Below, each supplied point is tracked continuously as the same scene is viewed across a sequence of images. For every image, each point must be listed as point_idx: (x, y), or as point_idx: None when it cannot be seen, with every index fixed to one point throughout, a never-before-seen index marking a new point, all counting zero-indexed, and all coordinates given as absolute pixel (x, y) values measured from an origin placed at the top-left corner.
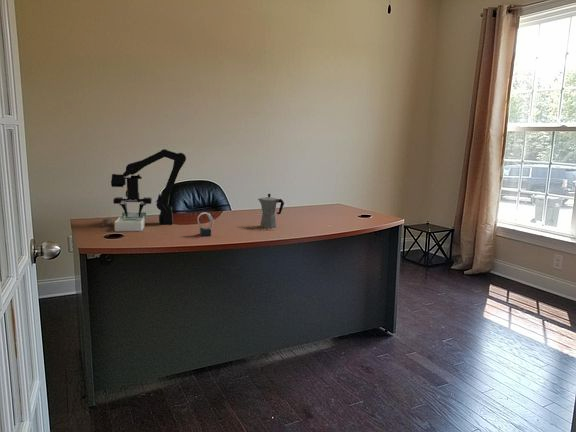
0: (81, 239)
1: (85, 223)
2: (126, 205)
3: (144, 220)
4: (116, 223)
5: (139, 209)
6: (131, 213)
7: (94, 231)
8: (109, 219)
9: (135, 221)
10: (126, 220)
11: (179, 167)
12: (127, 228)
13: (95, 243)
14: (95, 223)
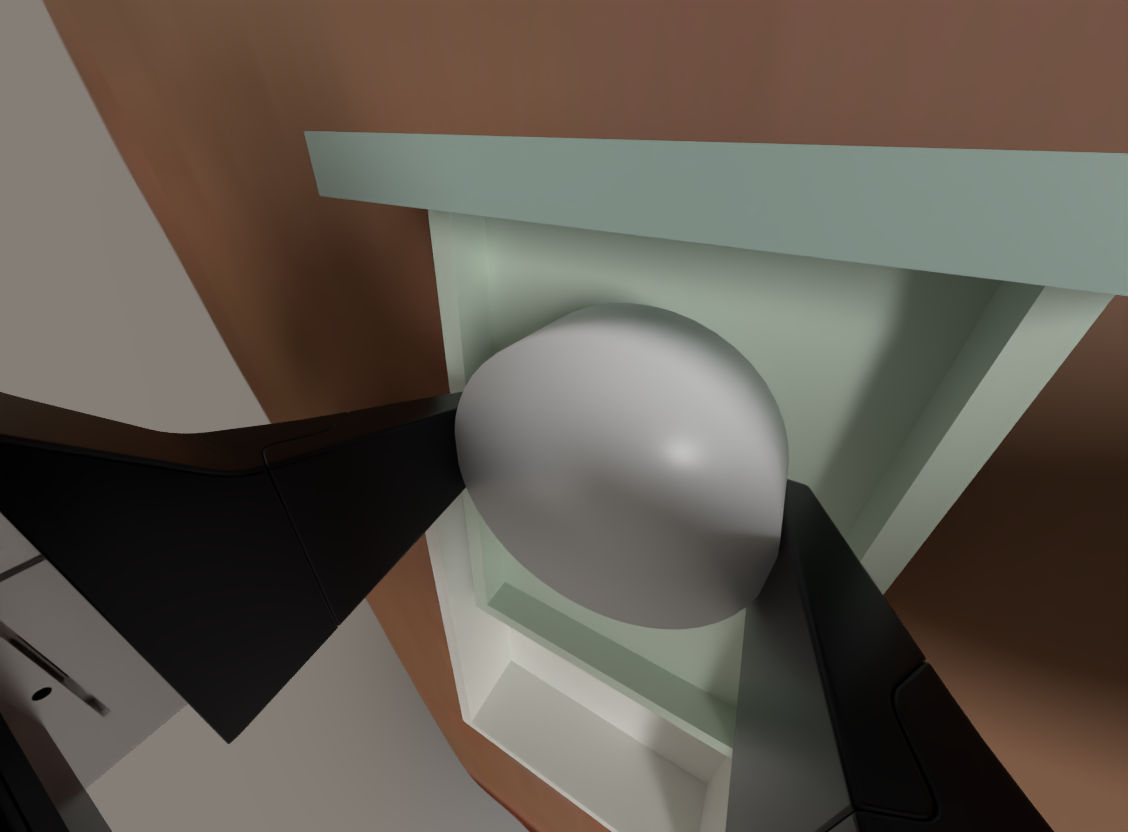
0: (419, 682)
1: (209, 236)
2: (204, 504)
3: None
4: (484, 718)
5: (740, 818)
6: (553, 561)
7: (402, 575)
8: None
9: (659, 701)
10: None
11: None
12: (590, 726)
13: (487, 764)
14: (267, 251)
